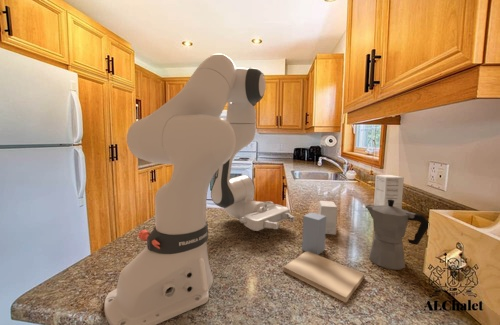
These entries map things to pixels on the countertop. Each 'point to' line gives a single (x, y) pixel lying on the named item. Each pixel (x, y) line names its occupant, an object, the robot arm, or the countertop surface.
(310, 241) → the slate block
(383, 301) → the countertop surface
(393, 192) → the supplement box
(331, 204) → the small box
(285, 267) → the beech board
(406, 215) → the coffeepot
